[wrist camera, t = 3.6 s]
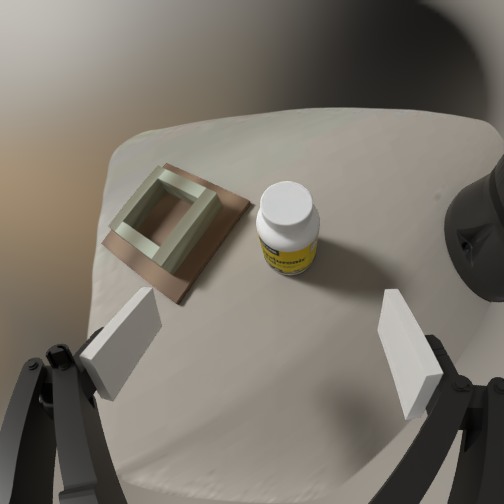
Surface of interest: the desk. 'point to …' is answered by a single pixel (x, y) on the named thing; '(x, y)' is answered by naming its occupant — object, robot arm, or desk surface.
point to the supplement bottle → (288, 227)
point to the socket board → (173, 228)
